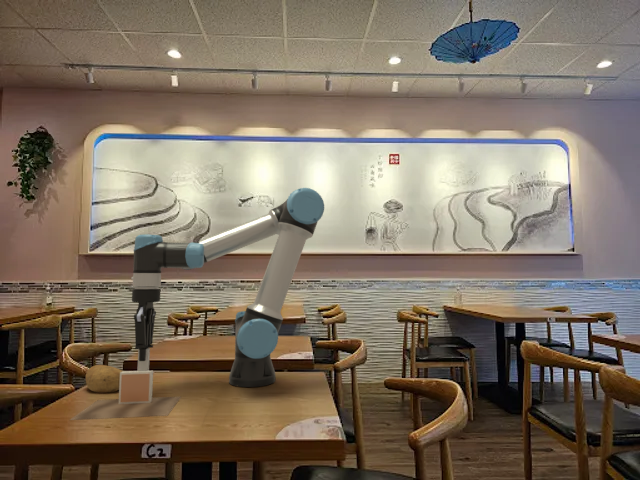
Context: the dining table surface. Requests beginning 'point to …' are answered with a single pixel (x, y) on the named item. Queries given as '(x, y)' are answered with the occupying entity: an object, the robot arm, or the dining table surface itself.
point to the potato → (103, 378)
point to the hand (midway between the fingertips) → (143, 372)
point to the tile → (135, 387)
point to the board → (127, 409)
